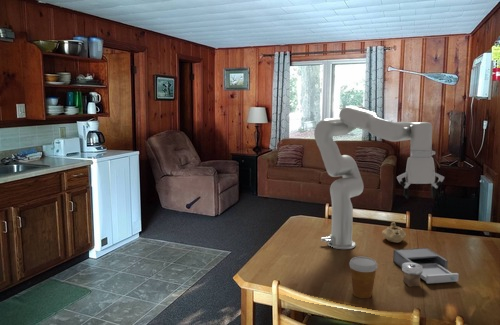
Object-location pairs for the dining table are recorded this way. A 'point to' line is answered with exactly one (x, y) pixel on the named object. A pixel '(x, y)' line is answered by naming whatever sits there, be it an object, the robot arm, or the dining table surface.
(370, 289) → the disposable coffee cup
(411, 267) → the silver disc
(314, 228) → the dining table surface
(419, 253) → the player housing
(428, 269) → the tray
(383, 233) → the oil lamp
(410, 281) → the walnut block
